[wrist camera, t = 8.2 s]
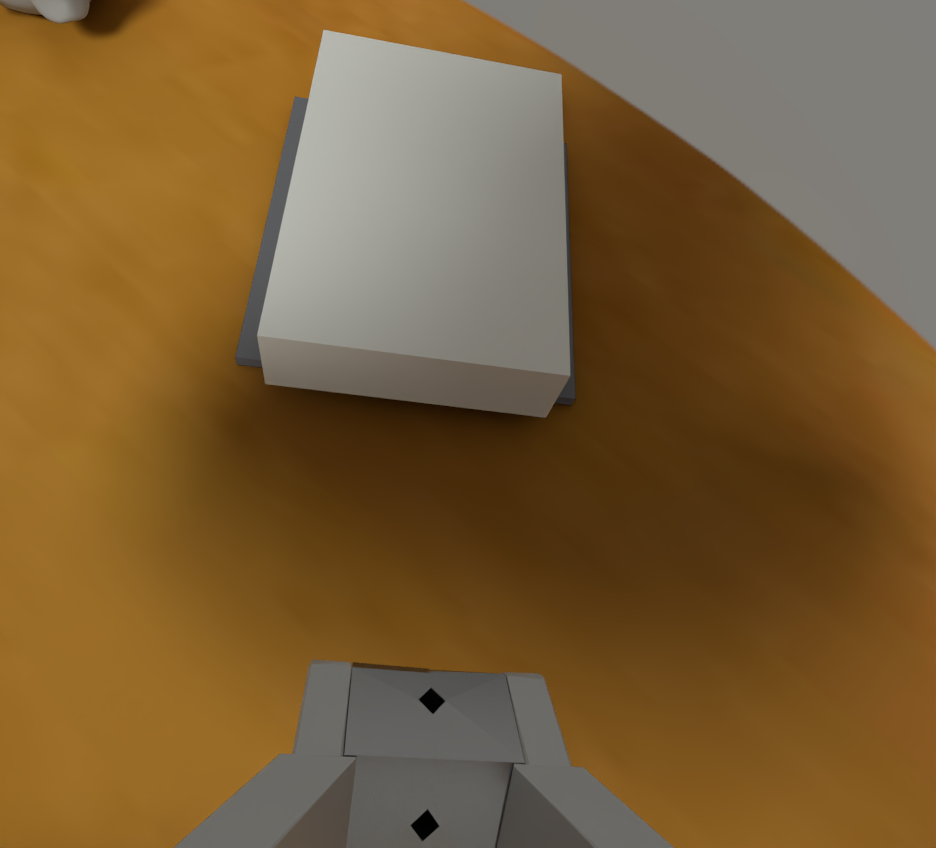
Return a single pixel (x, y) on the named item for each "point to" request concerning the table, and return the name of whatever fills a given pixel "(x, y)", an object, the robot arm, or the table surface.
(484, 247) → the white flat box
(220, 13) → the table surface
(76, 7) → the grey animal figurine
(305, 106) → the mat
